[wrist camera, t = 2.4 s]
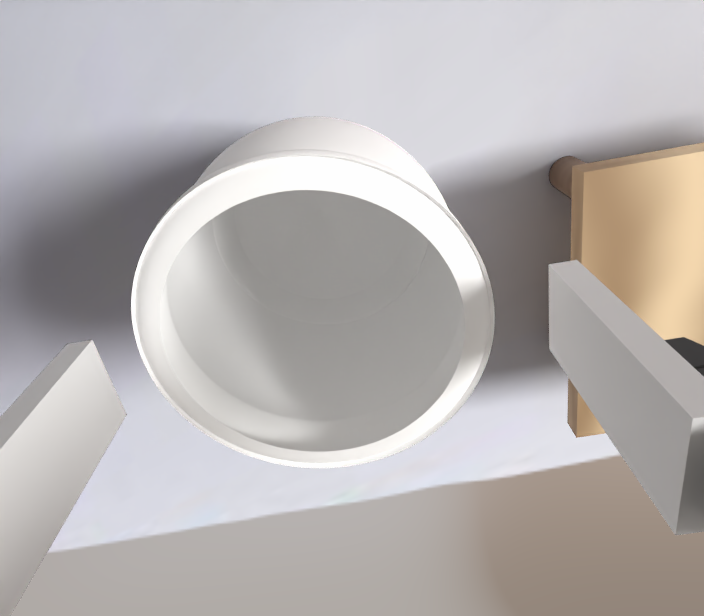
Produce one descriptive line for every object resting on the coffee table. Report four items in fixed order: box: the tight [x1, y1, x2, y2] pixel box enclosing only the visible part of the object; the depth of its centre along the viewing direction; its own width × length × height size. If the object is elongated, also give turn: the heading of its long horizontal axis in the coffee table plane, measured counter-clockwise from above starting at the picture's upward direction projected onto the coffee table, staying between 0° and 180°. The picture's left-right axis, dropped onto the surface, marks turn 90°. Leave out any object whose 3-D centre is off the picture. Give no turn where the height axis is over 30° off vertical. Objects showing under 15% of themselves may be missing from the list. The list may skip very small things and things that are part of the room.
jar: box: [131, 116, 495, 468], centre depth 22 cm, size 11×10×15 cm
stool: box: [549, 143, 704, 437], centre depth 27 cm, size 14×14×7 cm
